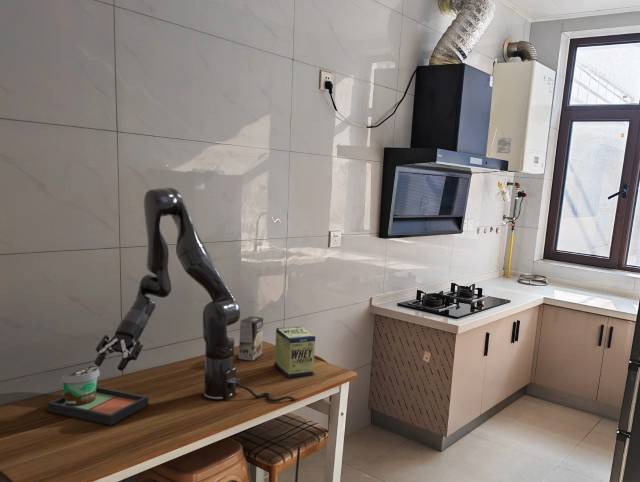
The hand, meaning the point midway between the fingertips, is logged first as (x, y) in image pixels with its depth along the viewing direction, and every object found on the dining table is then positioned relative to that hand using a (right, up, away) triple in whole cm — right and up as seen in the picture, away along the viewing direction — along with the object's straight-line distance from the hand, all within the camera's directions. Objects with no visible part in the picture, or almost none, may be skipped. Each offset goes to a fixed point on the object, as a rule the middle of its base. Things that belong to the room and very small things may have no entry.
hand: (108, 367), depth 177 cm
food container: (-3, -10, -7) cm, 12 cm away
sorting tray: (+2, -11, -8) cm, 14 cm away
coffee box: (+32, -3, +50) cm, 59 cm away
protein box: (+52, -7, +39) cm, 66 cm away
